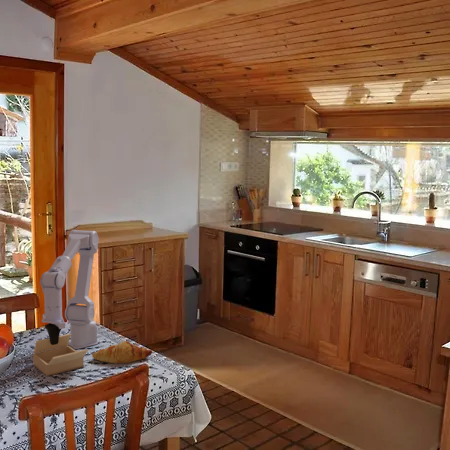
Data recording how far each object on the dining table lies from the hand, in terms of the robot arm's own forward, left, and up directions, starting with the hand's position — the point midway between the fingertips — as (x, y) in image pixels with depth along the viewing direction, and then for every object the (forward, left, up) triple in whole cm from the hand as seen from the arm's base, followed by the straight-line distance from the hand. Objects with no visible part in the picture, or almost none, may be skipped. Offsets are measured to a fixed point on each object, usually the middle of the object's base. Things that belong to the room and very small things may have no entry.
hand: (54, 344), depth 190 cm
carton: (0, +3, -7) cm, 8 cm away
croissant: (-21, +10, -8) cm, 24 cm away
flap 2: (0, +11, -1) cm, 11 cm away
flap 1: (0, -2, 0) cm, 2 cm away
